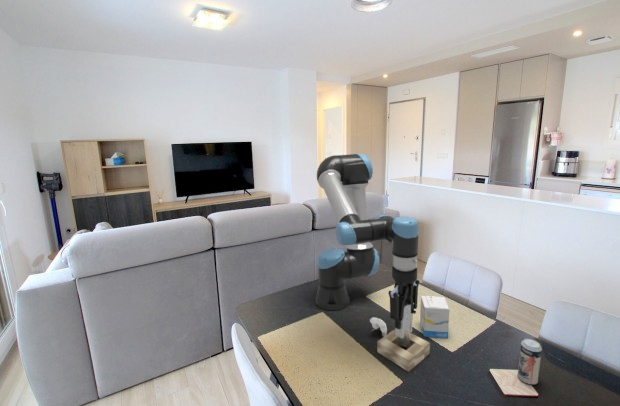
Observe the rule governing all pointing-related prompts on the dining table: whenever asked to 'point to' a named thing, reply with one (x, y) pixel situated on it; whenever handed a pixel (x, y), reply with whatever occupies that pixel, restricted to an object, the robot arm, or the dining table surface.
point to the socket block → (400, 356)
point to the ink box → (434, 316)
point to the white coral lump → (379, 325)
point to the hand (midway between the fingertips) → (403, 333)
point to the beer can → (529, 361)
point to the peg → (406, 325)
